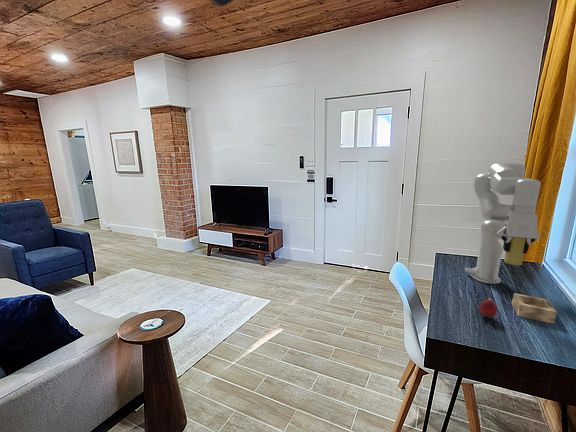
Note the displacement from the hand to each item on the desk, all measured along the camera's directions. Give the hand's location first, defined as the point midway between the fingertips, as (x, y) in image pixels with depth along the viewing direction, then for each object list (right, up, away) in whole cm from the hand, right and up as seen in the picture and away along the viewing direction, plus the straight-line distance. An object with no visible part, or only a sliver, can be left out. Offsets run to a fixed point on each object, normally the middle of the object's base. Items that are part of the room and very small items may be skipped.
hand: (514, 251), depth 116 cm
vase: (0, -5, +1) cm, 5 cm away
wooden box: (+5, -25, -3) cm, 26 cm away
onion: (-17, -26, -6) cm, 31 cm away
